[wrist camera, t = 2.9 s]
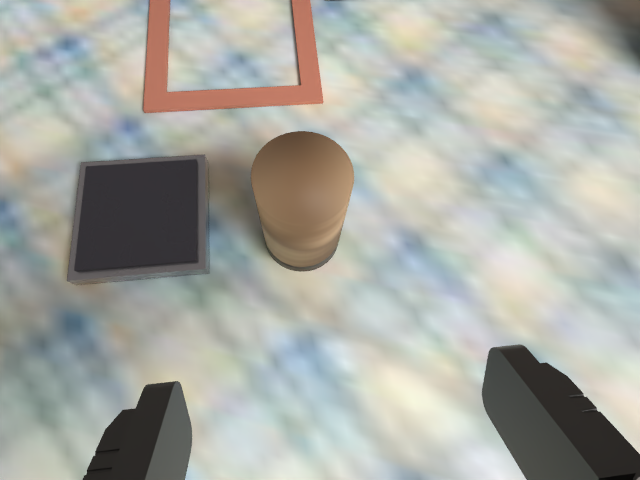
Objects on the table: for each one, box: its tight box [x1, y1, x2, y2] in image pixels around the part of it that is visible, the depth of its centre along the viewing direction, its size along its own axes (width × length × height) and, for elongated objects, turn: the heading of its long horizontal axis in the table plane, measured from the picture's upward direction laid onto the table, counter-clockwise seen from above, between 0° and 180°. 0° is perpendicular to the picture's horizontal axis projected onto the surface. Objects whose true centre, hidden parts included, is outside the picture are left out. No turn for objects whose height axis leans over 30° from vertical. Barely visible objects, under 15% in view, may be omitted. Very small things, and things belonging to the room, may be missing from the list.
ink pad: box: [67, 155, 209, 285], centre depth 25 cm, size 8×8×1 cm
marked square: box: [143, 0, 323, 113], centre depth 31 cm, size 13×13×1 cm
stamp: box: [251, 131, 354, 271], centre depth 22 cm, size 5×5×8 cm
